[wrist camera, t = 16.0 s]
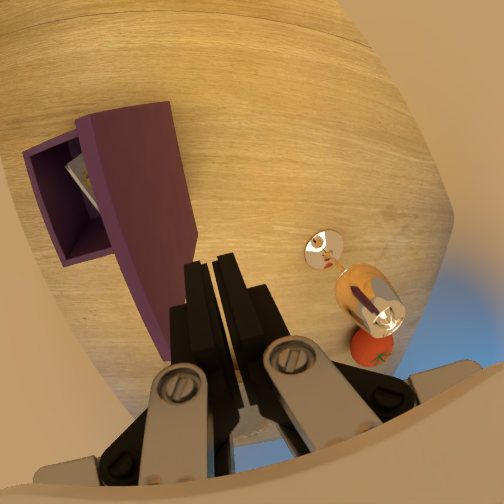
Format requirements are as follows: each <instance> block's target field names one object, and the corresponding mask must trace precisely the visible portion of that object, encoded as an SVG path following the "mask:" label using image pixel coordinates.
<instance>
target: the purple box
mask: <svg viewBox="0 0 504 504" xmlns="http://www.w3.org/2000/svg"><path fill="white" fill-rule="evenodd" d="M22 153H23V157H24V159H25V164H26V168H27V171H28V175H29V178H30V181H31V184H32V188H33V191H34V194H35V197H36V200H37V203H38V206H39V208H40V211H41V214H42V217H43V219H44V222H45V225H46V227H47V230H48V232H49V235H50V237H51V240H52V242H53V245H54V247H55V249H56V252H57V254H58V256H59V259H60V261H61V263H62V265H63V267H67V266H70V265H74V264H77V263H81V262H84V261H88V260H92V259H95V258H99V257H103V256H106V255H110V254H114V251H113V248H112V246H111V243H110V240H109V237H108V235H107V232H106V229H105V226H104V223H103V220H102V217H101V214H100V213H99V211H98V210H97V209H96V208H95V206H94V205H93V204H92V202H91V201H90V200H89V198H88V197H87V196H86V194H85V193H84V192H83V190H82V189H81V188H80V186H79V185H78V184H77V182H76V181H75V180H74V178H73V177H72V176H71V174H70V173H69V171H68V170H67V169H66V167H65V166H68V165H67V164H68V163H69V162H71V161H72V160H73V159H75V158H76V157H77V156H79V155H80V154H81V153H82V150H81V146H80V142H79V138H78V134H77V129H75V130H73V131H70V132H68V133H65V134H63V135H60V136H58V137H55V138H53V139H50V140H48V141H46V142H43V143H41V144H39V145H37V146H34V147H32V148H30V149H28V150H26V151H24V152H22Z"/></svg>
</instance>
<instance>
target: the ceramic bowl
mask: <svg viewBox="0 0 504 504" xmlns="http://www.w3.org/2000/svg"><path fill="white" fill-rule="evenodd" d="M235 373H236V377H237V381H238V385H239V388H240V392H241V396H242V400H243V403H244V407H245V408H242V409H238V411H239V414H240V418H241V419H239V421H240V422H239V423H238V424H237V426H236V427H235V428H234V430H233V431H232V435H233V441H236V440H241V439H244V438H246V437H250V436H252V435H255V434H257V432H261V431H263V430H265V429H266V428H268V427H269V426H270V425H272V424H273V423H274V421H272V420H269V419H267V418H264V417H262V416H261V414H260V413H259V409H258V406H257V405H254V406H250V404H249V401H248V397H247V394H246V391H245V387H244V384H243V380H242V377H241V374H240V370H235Z"/></svg>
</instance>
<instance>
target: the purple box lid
mask: <svg viewBox="0 0 504 504" xmlns="http://www.w3.org/2000/svg"><path fill="white" fill-rule="evenodd" d="M75 125H76V129H77V134H78V138H79V142H80V146H81V150H82V154H83V158H84V161H85V165H86V169H87V172H88V176H89V179H90V183H91V186H92V189H93V193H94V196H95V199H96V202H97V205H98V208H99V211H100V214H101V217H102V220H103V223H104V226H105V229H106V232H107V235H108V237H109V240H110V243H111V246H112V248H113V251H114V253H115V256H116V259H117V261H118V264H119V266H120V269H121V271H122V274H123V276H124V279H125V281H126V283H127V286H128V288H129V290H130V293H131V295H132V297H133V300H134V302H135V304H136V306H137V309H138V311H139V313H140V315H141V317H142V319H143V322H144V324H145V326H146V328H147V330H148V332H149V334H150V336H151V338H152V340H153V342H154V344H155V346H156V348H157V350H158V352H159V354H160V356H161V358H162V360H163V361H171V352H170V320H169V309H170V307H173V306H177V305H181V304H185V299H186V291H185V278H184V264H187V263H191V262H193V257H194V252H195V247H196V242H197V237H198V231H197V227H196V223H195V219H194V215H193V210H192V206H191V202H190V198H189V193H188V189H187V184H186V180H185V175H184V171H183V166H182V161H181V157H180V152H179V147H178V142H177V137H176V133H175V128H174V122H173V117H172V112H171V107H170V102H169V101H165V102H157V103H149V104H142V105H136V106H129V107H123V108H118V109H112V110H107V111H102V112H97V113H92V114H88V115H86V116H83V117H80V118H78V119H76V120H75Z"/></svg>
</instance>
